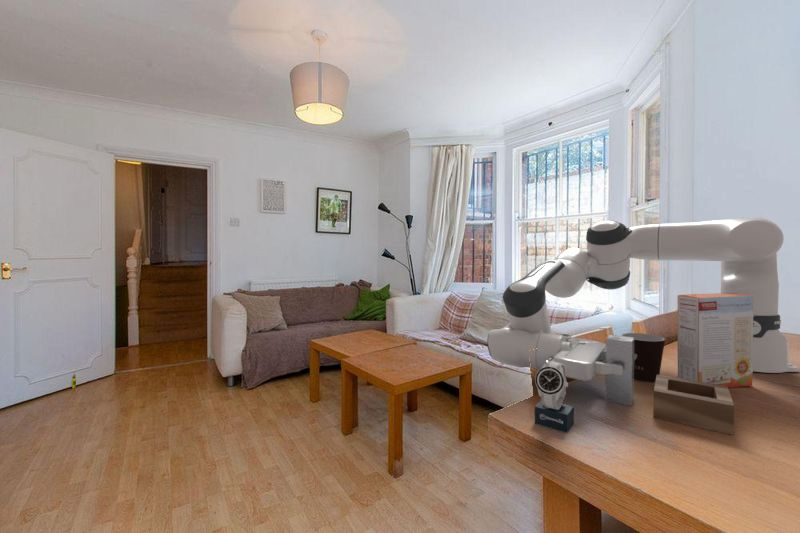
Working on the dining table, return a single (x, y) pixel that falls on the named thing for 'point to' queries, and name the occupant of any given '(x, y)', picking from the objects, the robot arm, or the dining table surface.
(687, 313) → the cracker box
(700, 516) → the dining table surface
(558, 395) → the watch
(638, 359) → the coffee mug
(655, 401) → the well block
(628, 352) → the grey brushed metal pillar
